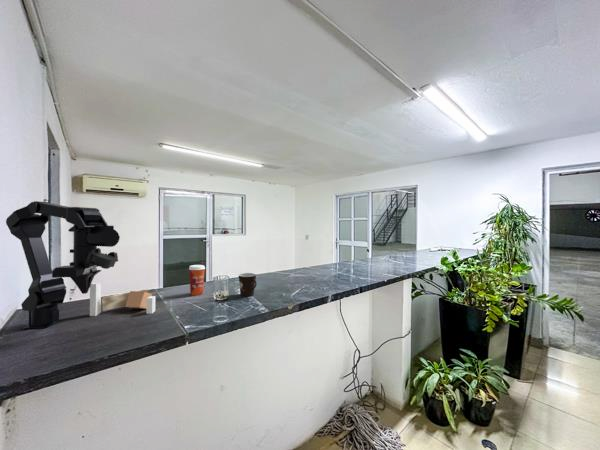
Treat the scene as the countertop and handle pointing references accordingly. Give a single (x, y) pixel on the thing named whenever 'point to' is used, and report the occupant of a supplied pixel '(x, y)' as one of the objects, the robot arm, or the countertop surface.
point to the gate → (116, 300)
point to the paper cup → (196, 279)
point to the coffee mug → (247, 284)
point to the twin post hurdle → (96, 300)
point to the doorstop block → (137, 299)
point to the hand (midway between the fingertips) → (84, 293)
